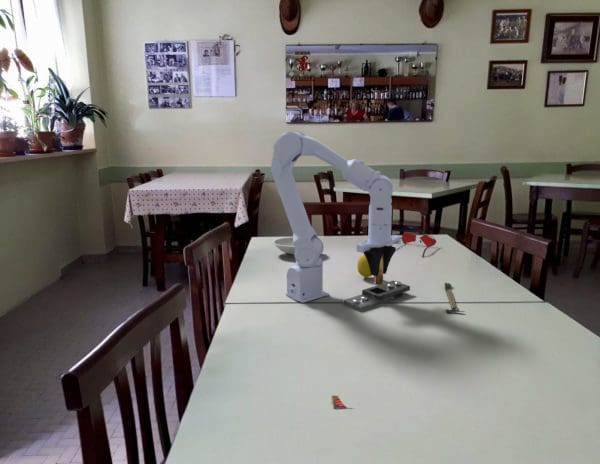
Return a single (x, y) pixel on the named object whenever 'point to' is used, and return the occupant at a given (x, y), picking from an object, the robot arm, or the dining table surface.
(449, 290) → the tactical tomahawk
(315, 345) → the dining table surface
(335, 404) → the matchbox
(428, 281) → the dining table surface
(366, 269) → the lemon
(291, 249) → the dish
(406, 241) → the glasses
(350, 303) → the chain joint
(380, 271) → the copper pin
